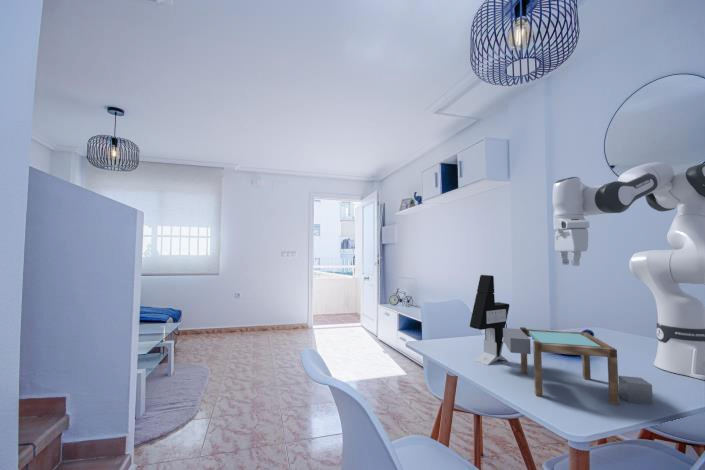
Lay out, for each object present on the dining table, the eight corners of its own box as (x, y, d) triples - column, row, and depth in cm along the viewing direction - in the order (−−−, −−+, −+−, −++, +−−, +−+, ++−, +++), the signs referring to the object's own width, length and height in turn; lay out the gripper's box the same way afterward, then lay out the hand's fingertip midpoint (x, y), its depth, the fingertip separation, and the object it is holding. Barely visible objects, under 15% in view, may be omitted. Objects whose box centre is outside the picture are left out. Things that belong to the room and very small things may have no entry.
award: (481, 366, 109) (479, 276, 111) (469, 361, 114) (467, 275, 116) (511, 359, 116) (509, 274, 118) (499, 355, 121) (497, 274, 123)
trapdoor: (580, 345, 98) (580, 332, 99) (601, 360, 85) (601, 344, 85) (502, 340, 104) (502, 327, 105) (511, 353, 91) (510, 338, 91)
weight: (641, 397, 86) (640, 377, 87) (652, 405, 82) (651, 384, 82) (619, 394, 88) (618, 375, 88) (628, 402, 83) (628, 382, 83)
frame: (588, 377, 99) (586, 331, 100) (619, 404, 82) (616, 347, 82) (521, 371, 104) (520, 327, 105) (536, 395, 87) (534, 342, 88)
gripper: (548, 227, 123) (550, 263, 122) (568, 222, 103) (570, 266, 102) (568, 226, 121) (569, 263, 120) (591, 221, 101) (594, 266, 101)
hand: (570, 265), depth 111 cm, fingers open, 8 cm apart
